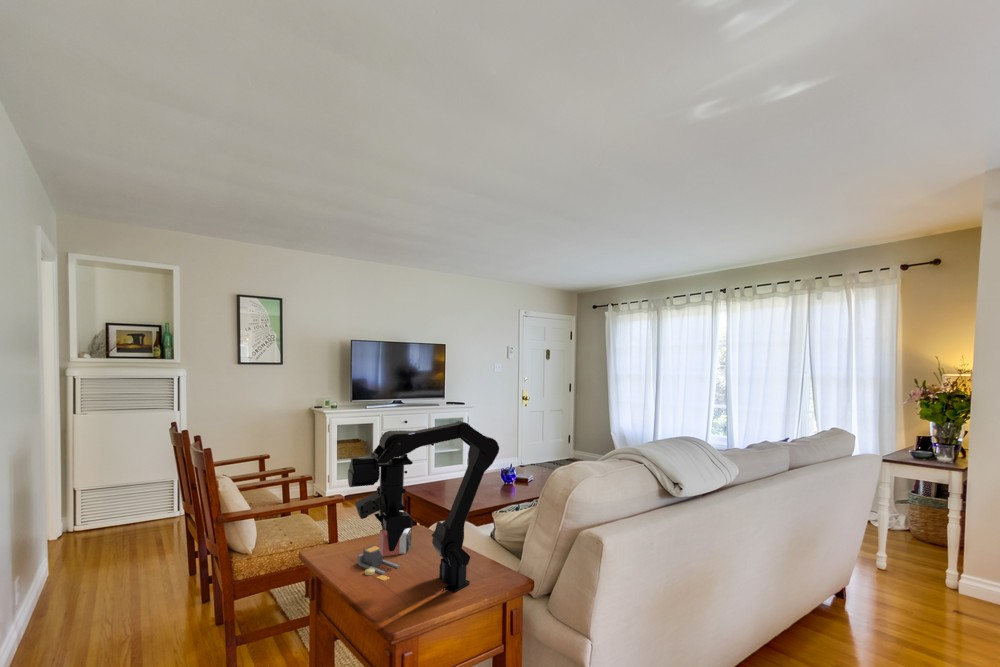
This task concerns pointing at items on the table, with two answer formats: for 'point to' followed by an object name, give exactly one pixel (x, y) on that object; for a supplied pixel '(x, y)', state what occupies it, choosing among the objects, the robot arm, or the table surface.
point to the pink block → (386, 545)
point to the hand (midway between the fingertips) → (389, 547)
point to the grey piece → (372, 570)
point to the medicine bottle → (405, 540)
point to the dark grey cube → (372, 556)
